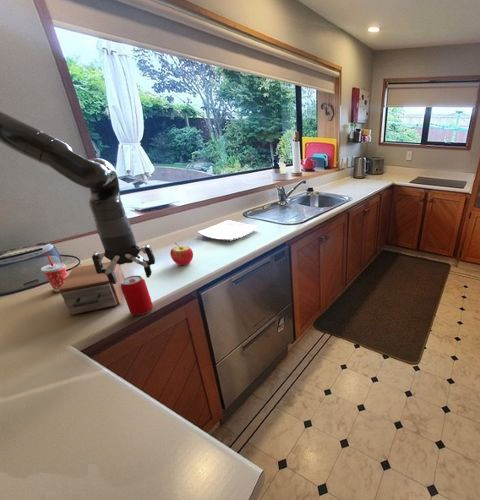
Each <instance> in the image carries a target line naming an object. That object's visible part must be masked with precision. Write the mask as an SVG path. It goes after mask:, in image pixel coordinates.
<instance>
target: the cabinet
mask: <svg viewBox="0 0 480 500" xmlns="http://www.w3.org/2000/svg"><path fill="white" fill-rule="evenodd" d="M110 262H111V261H107V262H102V265H103V267H104V268H107V267H108V265H109V264H110ZM112 271H114V274H115V276H116V279H117V283H116V284H113V283H110V282H109V280H108V277H107V275H106V274H105V273H101V274H98V273H97V272H96V269H95V266H94V263H93V264H88V265H82V266H81V265H80V266H75V267H72V269H71V270H70V272H69V273H68V277H67V278H66V280H65V282H64V283H63V285H62V286H61V288H60V289H59V290H60V291H59V292H60V295H61V297H62V299H63V301H64V303H65V305H66V308H67V310H68V311H69V313H70V315H71V316H73V315H78V314H84V313H87V312H92V311H96V310H101V309H106V308H111V307H116V306H120V305H121V303H122V299H123V297H124V294H123V292H122V289H121V284H122V283H121V282H122V280H123V279H125V278H126V277H125V275H124V272H123V269H122V267H121V265H119V264H116V265H115V266H114V268H113V269H112ZM106 283H110V285H111V288H112V291H113V293H114V296H115V299H116V301H117V305H113V306H108V307H104V308H99V309H94V310H90V311H85V312H80V313H76V314H71V312H70V310H69V308H68V306H67V304H66V302H65V300H64V298H63V295H62V293H63V292H65V291H68V290H73V289H78V288H84V287H89V286H95V285H100V284H106Z"/></svg>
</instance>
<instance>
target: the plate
mask: <svg viewBox="0 0 480 500" xmlns="http://www.w3.org/2000/svg"><path fill="white" fill-rule="evenodd" d="M258 228H259V225H257V224H250V223H244V222H239V221H235V220H231V219H227V220H224V221H222V222H219V223H218V224H215V225H212V226H209V227H207V228H205V229H201V230H198V231H197V234H200V235H201V236H204V237H206V238H209V239H212V240H218V241H227V242H228V241H230V242H231V241H234V240H238V239H241V238H244V237H245V236H247V235H249V234H251V233H253V232H254V231H255V230H257V229H258Z"/></svg>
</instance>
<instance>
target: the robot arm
mask: <svg viewBox="0 0 480 500" xmlns="http://www.w3.org/2000/svg"><path fill="white" fill-rule="evenodd" d="M0 144H2V145H4V146H5V147H7V148H9V149H11V150H12V151H14V152H16V153H19V154H20V155H22V156H25V157H27V158H29V159H31V160H33V161H35V162H37V163H40V164H42V165H44V166H47V167H49V168H51V170H54V171H55V172H56V173H58V174H60V175H61V176H62V177H64V178H66V179H67V180H69V181H71V182H72V183H74V184H76V185H78V186H81V187H83V188H86V189H89V191H90V197H89V200H88V206H89V209H90V212H91V214H92V217H93V219H94V224H95V228H96V233H97V234H98V236H99V239H100V241H101V245H102V247H103V250H104V252H98V251H95V252H93V254H92V256H91V259H92V262H93V264H94V266H95V269H96V272H97V273H98V274H101V273H105V274H106V275H107V277H108V280H109V282H110V283H113V284H116V283H117V279H116V276H115V274H114V271H112V269H113V268H114V266H115V265H116V264H119V265H120V266H121V265H125V264H132V263H133V262H134V263H136V265H137V264H138V265H140V266H142V267H143V270H144V273H145V277H146V278H150V277H151V276H152V272H153V271H152V269H151V265H155V264H156V258H155V255H154V251H153V249H152V247H151V245H150V244H146V245H144V246H139V245H137V242H136V238H135V236H134V232H133V229H132V225H131V222H130V220H129V217H127V214H126V213H127V212H126V211H125V207H124V205H123V202H122V199H121V191H120V183H119V177H118V173H117V171H116V169H115V168H114V166H113V164H111V162H109V161H107V160H105V159H103V158H99V157H93V158H88V159H87V158H86V157H83V156H81V155H80V154H78V153H76V152H74V151H73V149H72V147H71V146H69V144H67V143H65V142H63V140H60V139H58V138H57V137H54V136H52V135H50V134H48V133H47V132H45V131H42V130H40V129H39V128H36V127H35V126H32V125H31V124H28V123H26V122H24V121H22V120H20V119H17V118H16V117H13V116H11V115H9V114H8V113H5V112H3V111H1V110H0ZM140 252H142V253H143V254H144V255H145V254H146V256H147V258H148V259H145V258H144V257H143V256H142V255H140ZM104 257H105V258H106V259H108V260H109V262H110V264H109V265H108V267H107V268H104V267H103V265H102V263H103V262H102V261H103V260H104Z"/></svg>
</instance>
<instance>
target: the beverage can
mask: <svg viewBox="0 0 480 500" xmlns="http://www.w3.org/2000/svg"><path fill="white" fill-rule="evenodd" d="M124 278H125V279H123V280H122V282H121V283H122V284H121V289H122V292H123V297H124V299H125V302H126V306H127V308H128V311H129V313H130V314H131V315H132V316H133V315H134V316H142V315H145V314H147V313H149V312H150V311H151V310H152V309H153V307H154V305H153V302H152V298H151V295H150V291H149V288H148V286H147V283H146V280H145V279H144V278H143V277H142V276H141V275H131V276H128V277H124Z"/></svg>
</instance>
